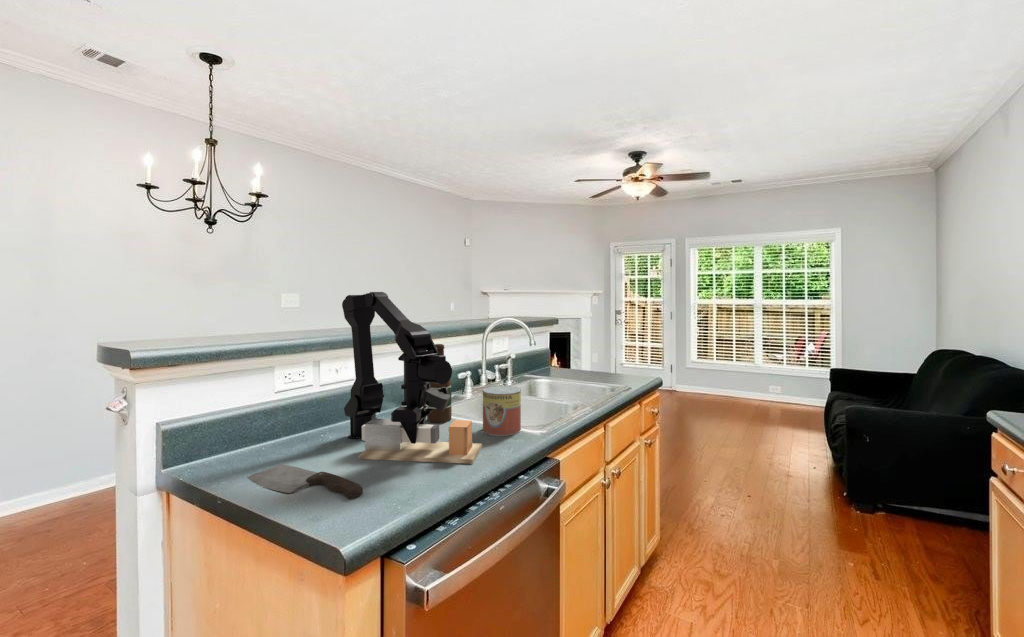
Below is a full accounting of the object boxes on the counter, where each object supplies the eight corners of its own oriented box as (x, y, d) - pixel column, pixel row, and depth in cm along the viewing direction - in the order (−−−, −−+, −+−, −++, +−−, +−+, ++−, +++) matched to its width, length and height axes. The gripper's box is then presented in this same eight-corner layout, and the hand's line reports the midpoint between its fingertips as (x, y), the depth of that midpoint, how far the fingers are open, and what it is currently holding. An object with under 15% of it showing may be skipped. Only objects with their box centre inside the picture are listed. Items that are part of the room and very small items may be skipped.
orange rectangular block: (449, 454, 117) (448, 426, 117) (454, 446, 123) (454, 420, 123) (467, 454, 116) (467, 427, 116) (472, 446, 122) (471, 420, 122)
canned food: (476, 433, 137) (476, 392, 137) (491, 423, 148) (491, 384, 147) (513, 437, 133) (513, 395, 133) (526, 427, 144) (526, 387, 143)
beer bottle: (456, 419, 152) (456, 344, 150) (436, 424, 146) (436, 346, 145) (441, 415, 157) (440, 342, 156) (421, 420, 152) (420, 344, 150)
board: (359, 458, 117) (359, 454, 117) (378, 443, 129) (378, 439, 128) (472, 463, 113) (472, 459, 113) (481, 447, 125) (481, 443, 125)
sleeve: (365, 450, 120) (364, 424, 120) (373, 443, 125) (373, 418, 125) (400, 451, 119) (399, 425, 118) (407, 444, 124) (406, 419, 124)
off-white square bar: (361, 440, 121) (361, 426, 120) (367, 436, 124) (367, 422, 124) (435, 443, 118) (435, 428, 118) (439, 438, 122) (439, 424, 122)
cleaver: (372, 491, 98) (372, 481, 98) (334, 510, 90) (334, 499, 90) (279, 468, 112) (279, 459, 112) (238, 482, 104) (238, 473, 104)
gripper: (436, 387, 110) (437, 454, 111) (455, 373, 128) (456, 431, 129) (389, 386, 111) (390, 452, 112) (415, 372, 130) (416, 429, 131)
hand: (416, 440), depth 121 cm, fingers closed on off-white square bar, 4 cm apart
